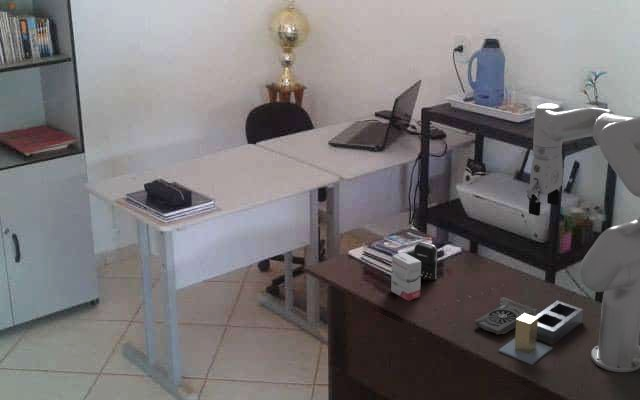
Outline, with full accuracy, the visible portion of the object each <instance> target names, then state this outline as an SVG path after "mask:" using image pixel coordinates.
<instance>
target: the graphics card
mask: <svg viewBox="0 0 640 400" xmlns="http://www.w3.org/2000/svg"><path fill="white" fill-rule="evenodd" d="M524 313H525V314H528V315H531V316H534V317H535V316H536V315H537V308H535V309H534V308H533V307H530V306H527V305H524V304H522V303H520V302H517V301H514V300H511V299H509V298H507V297H500V303H499V306H498V307H497V308H495V309H493V310H492V311H490V312H488V313H486V314H484V315H482V316H481V317H479V318H477V319H475V320H474V326H476V327H480V328H481V329H483V330H484V331H487V332H491V333H493V334H494V335H501V334H502V335H504V334H506V333H508V332H509V331H511V330H513V329H516V319H517V318H518V317H520V316H521V315H522V314H524Z"/></svg>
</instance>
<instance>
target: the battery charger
mask: <svg viewBox="0 0 640 400" xmlns="http://www.w3.org/2000/svg"><path fill="white" fill-rule="evenodd" d="M413 250H414V251H413V257H414V258H416V259H418V260H419V261H421V279H422V280H424V281H425V280H426V281H430V282H431V281H434V280H436V279H437V278H438V248H437V245H435V244H432V243H430V242H426V241H420V242H418V243H417V244H416V245H414V249H413Z"/></svg>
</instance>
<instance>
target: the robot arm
mask: <svg viewBox="0 0 640 400" xmlns="http://www.w3.org/2000/svg"><path fill="white" fill-rule="evenodd" d="M533 123H534V127H533V141H532V144H533V146H532V157H533V158H532V162H531V169H530V175H529V176H530V177H529V185H528V187H527V188H526V190H525V191H526V194H527V195H526V196H527V199H528V214H530V215H534V216H537V217H538V216H540V215H541V205H542V204H541V203H542V202H541V201H540V200H541V198H542V195H543V196H544V195H545V196H546V195H547V198H546V199H547V200H546V201H547V202H546V203H547V204H549V205H553V206H558V205H559V202H560V201H559V200H560V199H559V198H560V191H561V187H562V185H563V176H564V172H563V171H564V170H563V169H564V165H563V163H564V162H563V154H562V152H563V151H562V150H563V142H567V141H572V140H578V139H582V138H587V137H589V138H590V137H592V138H593V140H594V142H595V144H596V145H597V146H598V147H599V149H600V151H601V153H602V155H603V157H604V158H605V160H606V161H607V163H608V164H609V165H610V167H611V168H612V170H613V171H614V172H615V174H616V176H617V178H618V179H619V180H620V181H621V183H622V184H623V185H624V187H625V188H626V189H627V191H629V192H630V193H631V194H632V195H634V197H638V198H640V116H636V115H626V114H618V113H614V111H612V110H611V109H607V108H600V107H599V108H598V107H582V108H576V109H571V110H565V109H564V107H563V106H561V105H559V104H557V103H542V104H540V105H537V107H536V108H535V110H534V122H533ZM536 194H537V196H536ZM579 273H580V275H579V276H580V279H581V281H582V283H583V285H584V286H585V288H587V289H589V290H590V291H592V292H596V293H601V292H602V293H603V294H602V302H601V310H600V311H601V314H600V322H599V334H598V342H597V343H598V344H597V345H596V346H594V347H593V348H592V349H591V352H590V358H591V360H592V362H593V363H594V364H595V365H597V366H598V367H600V368H602V369H604V370H607V371H610V372H614V373H630V372H631V373H632V372H634V371H637V370H639V369H640V345H639V341H640V216H638V217H637V218H636V219H634V220H631V221H628V222H624V223H621V224H616V225H613V226H611V227H609V228H607V229H605V230H603V231H602V233H601V234H600V235H599V236H598V237H597V239H596V240H595V241H594V243H593V244H592V245H591V247H590V248H589V250H588V251H587V253H586V254H585V256H584V257H583V259H582V261H581V264H580V269H579Z"/></svg>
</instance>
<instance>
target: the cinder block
mask: <svg viewBox="0 0 640 400" xmlns="http://www.w3.org/2000/svg"><path fill="white" fill-rule="evenodd" d="M583 314H584V309H583V308H580V307H578V306H574V305H572V304H569V303H565V302H563V301H560V300H555V302H553V303H552V304H550V305H549V306H547V307H546V308H545V309H543V310H542V311H540V312H539V313H537V314H536V316H535V317H537V318H538V325H537V340H539V341H542V342H544V343H547V344H550V345H554V344H556V343H557V342H558V341H560V340H561V339H562V338H563V337H565V336H566V335H567V334H569V333H570V332H571V331H573V330H574V329H575V328H577V327H578V326H579V325H580V324H582V323H583V318H584V317H583V316H584V315H583Z"/></svg>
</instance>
